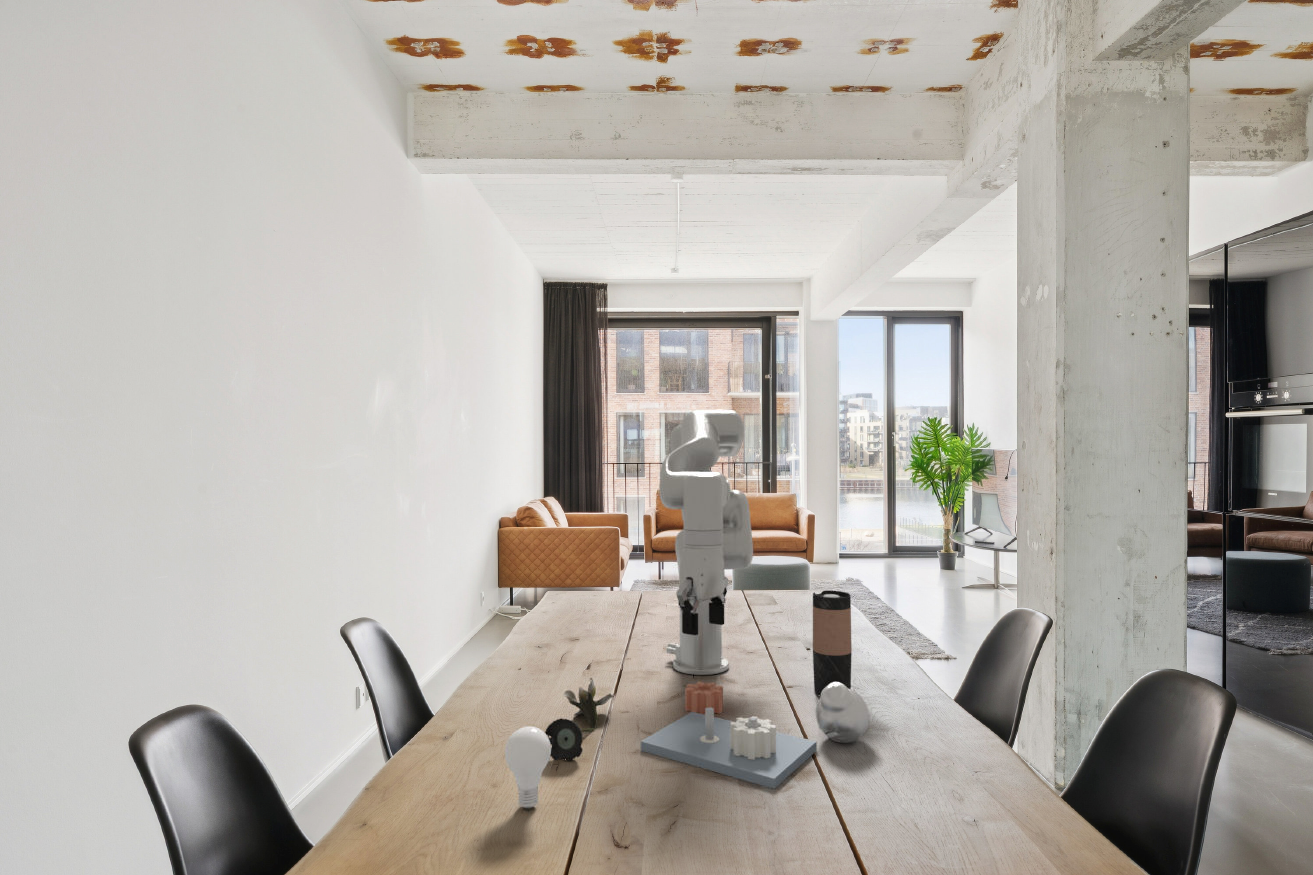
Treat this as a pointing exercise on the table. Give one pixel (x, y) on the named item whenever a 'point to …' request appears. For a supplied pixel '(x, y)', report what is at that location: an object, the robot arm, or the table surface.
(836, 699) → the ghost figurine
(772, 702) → the table surface
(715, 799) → the table surface
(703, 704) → the terracotta gear
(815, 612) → the travel mug
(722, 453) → the robot arm
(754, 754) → the cream gear
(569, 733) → the artificial flower
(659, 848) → the table surface
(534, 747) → the lightbulb
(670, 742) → the gear board
